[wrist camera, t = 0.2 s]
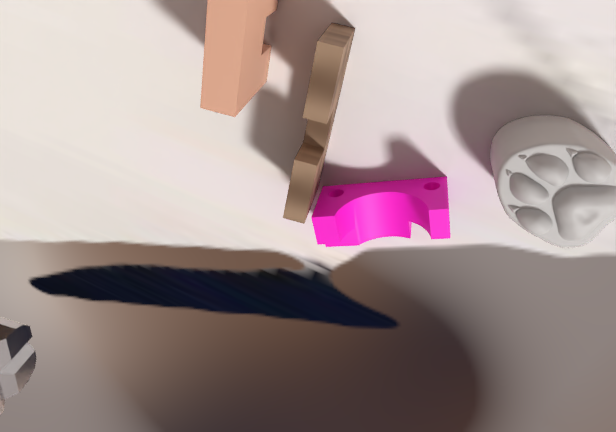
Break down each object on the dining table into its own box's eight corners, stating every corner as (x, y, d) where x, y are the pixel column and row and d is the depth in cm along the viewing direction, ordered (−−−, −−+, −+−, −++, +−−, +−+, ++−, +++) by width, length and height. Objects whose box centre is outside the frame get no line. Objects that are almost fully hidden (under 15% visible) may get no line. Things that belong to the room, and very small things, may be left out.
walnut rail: (331, 22, 52) (317, 41, 45) (355, 28, 52) (343, 47, 45) (298, 184, 63) (283, 217, 57) (317, 189, 63) (304, 223, 56)
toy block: (331, 226, 66) (321, 261, 60) (323, 185, 63) (311, 217, 57) (449, 220, 62) (451, 256, 56) (446, 175, 59) (448, 208, 52)
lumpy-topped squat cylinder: (556, 223, 59) (573, 268, 52) (466, 165, 57) (471, 203, 50) (630, 157, 53) (661, 198, 46) (532, 91, 52) (549, 123, 44)
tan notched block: (237, 74, 57) (200, 107, 48) (249, -41, 50) (209, -27, 41) (266, 81, 57) (234, 116, 48) (282, -33, 50) (249, -17, 41)
